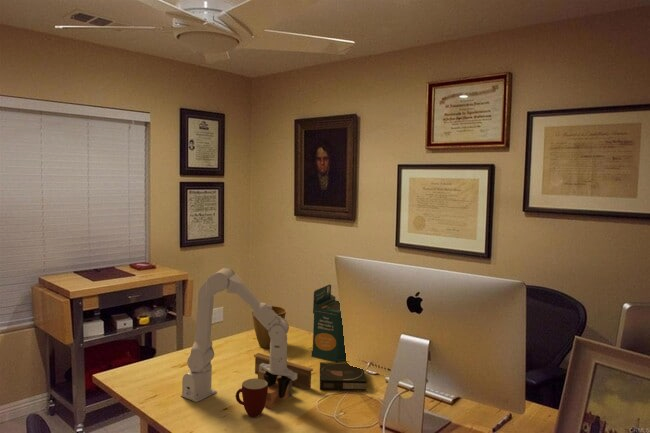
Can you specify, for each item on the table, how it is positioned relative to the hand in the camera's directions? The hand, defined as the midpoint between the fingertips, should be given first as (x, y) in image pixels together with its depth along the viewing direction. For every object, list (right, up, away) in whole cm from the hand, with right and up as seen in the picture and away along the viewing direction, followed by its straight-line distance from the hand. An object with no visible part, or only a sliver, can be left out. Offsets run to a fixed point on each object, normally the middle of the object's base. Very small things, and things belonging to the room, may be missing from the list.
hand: (277, 395), depth 164 cm
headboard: (-1, 0, +13) cm, 13 cm away
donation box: (+21, +1, +44) cm, 49 cm away
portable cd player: (+22, -2, +17) cm, 28 cm away
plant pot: (-9, +3, +52) cm, 53 cm away
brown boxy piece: (0, -2, 0) cm, 2 cm away
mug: (-8, -2, -10) cm, 13 cm away
